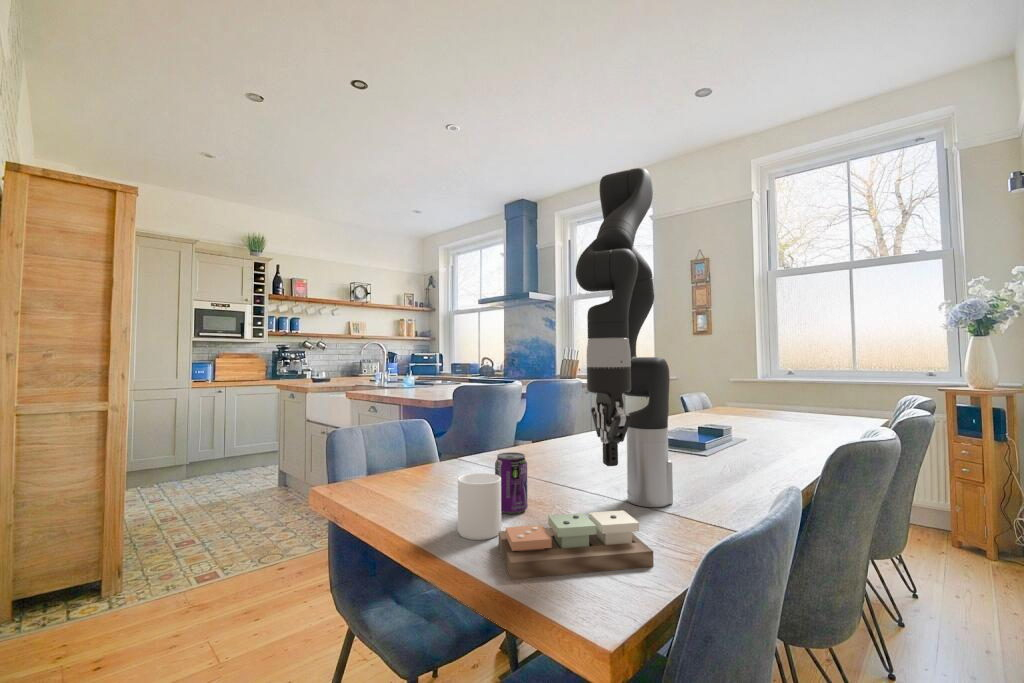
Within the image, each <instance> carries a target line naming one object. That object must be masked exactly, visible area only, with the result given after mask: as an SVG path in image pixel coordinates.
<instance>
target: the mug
mask: <svg viewBox="0 0 1024 683" xmlns="http://www.w3.org/2000/svg"><path fill="white" fill-rule="evenodd" d="M457 531H458V534H459V536H461V537H462V538H464V539H466V540H470V541H485V540H486V541H487V540H490V539H493V538H495V537H498V536H499V531H502V512H501V477H500V476H498V475H495V473H486V472H479V473H475V472H474V473H469V474H468V473H467V474H463V475H460V476H459V477H458V478H457Z"/></svg>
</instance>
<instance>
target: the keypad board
mask: <svg viewBox="0 0 1024 683" xmlns="http://www.w3.org/2000/svg"><path fill="white" fill-rule="evenodd" d="M544 529H545V530H546V532H547V533H548V534H549V536H550V537H551V539H552V548H545V550H536V551H523V552H514V551H512V549H511V547H510V544H509V542H508V540H507V537H506V530H503V531H502V530H501V531H499V534H498V547H499V550H500V553H501V555H502V558H503V561H504V564H505V567H506V569H507V572H508V576H509V578H510V579H511V580H513V579H525V578H537V577H550V576H559V575H560V576H561V575H569V574H570V575H572V574H583V573H593V572H594V573H595V572H605V571H606V572H607V571H616V570H619V571H620V570H630V569H641V568H651V567H654V566H655V565H654V550H653V549H652V548H650V547H649V546H648V545H647V544H646V543H644V542H643V541H642V539H640V538H639V537H638V536H636V534H634V532H632V543H626V544H613V545H604V544H603V543H602V542H601V541H600V540H599V539H598V538H597V537H596V534H594V535H589V546H587V547H574V548H560V546H559V545H558V543H557V542H556V541H555V532H554V531H553V529H552V528H551V527H544Z"/></svg>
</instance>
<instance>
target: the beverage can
mask: <svg viewBox="0 0 1024 683" xmlns="http://www.w3.org/2000/svg"><path fill="white" fill-rule="evenodd" d="M496 457H497V458H496V461H495V463H494V474H495V475H498V476H500V477H501V514H507V515H515V514H516V515H517V514H520V513H521V512H523V511H525V510H527V509H528V505H529V504H528V500H529V499H528V462H527V460H526V454H525V453H522V452H516V451H513V452H512V451H510V452H502V453H498V454H496Z"/></svg>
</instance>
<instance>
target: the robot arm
mask: <svg viewBox="0 0 1024 683" xmlns="http://www.w3.org/2000/svg"><path fill="white" fill-rule="evenodd" d="M653 192H654V191H653V182H652V178H651V175H650V173H649V171H648V170H647V169H646V168H643V167H635V168H630V169H626V170H622V171H617V172H612V173H609V174H605V175H603V176H602V177H601V179H600V181H599V199H600V205H601V206H600V207H601V211H602V218H603V221H602V223H601V225H600V227H599V228H598V233H597V235H596V238H595V239H594V240H593V241H592V242H591V243H590V244H589V245H588V246H587V247H586V248H585V249H584V250H583V251H582V253H581V254H580V256H579V257H578V260H577V263H576V265H575V278H576V281H577V283H578V285H579V287H580V288H582V290H584V291H586V292H594V293H595V292H606V291H607V292H609V291H611V296H612V298H611V299H609V300H608V301H605V302H602V303H599V304H595V305H592V306H591V307H590V308H588V310H587V316H586V317H587V318H586V319H587V320H586V321H587V345H586V346H587V347H586V389H587V391H588V392H589V393H592V394H596V396H595V397H596V398H595V403H594V407H591V408H590V409H591V410H590V412H591V416H592V420H593V423H594V428H595V433H596V436H597V437H598V438H600V442H601V443H602V463H603V464H604V465H606V466H607V467H616V466H618V464H619V444H620V443H624V440H625V438H626V469H627V470H626V471H627V472H626V474H627V475H626V476H627V478H626V479H627V485H626V487H627V490H626V493H627V502H629V503H630V504H632V505H636V506H639V507H645V508H646V507H647V508H661V507H662V508H663V507H666V506H668V505H673V504H674V491H673V490H674V486H673V484H674V483H673V481H674V480H673V462H672V461H671V460H670V459H669V420H668V419H669V412H670V411H669V410H670V405H669V404H670V403H669V402H670V401H669V399H670V369H669V365H668V362H667V360H666V359H664V357H658V356H657V357H653V356H651V357H650V356H648V357H647V356H641V357H640V356H639V357H637V356H638V355H637V341H638V337H639V334H640V331H641V329H642V327H643V325H644V324H645V321H646V320H647V317H648V315H649V314H650V312H651V309H652V308H653V305H654V301H655V289H654V280H653V271H652V268H651V267H650V265H649V264H648V262H647V261H646V260H645V258H644V257H643V256H642V254H641V253H640V252H639V251H638V249H637V248H636V247H635V246H634V243H635V240H636V239H635V238H636V234H637V231H638V229H639V227H640V226H641V224H642V222H643V220H644V219H645V217H646V215H647V213H648V211H649V209H650V207H651V205H652V201H653V194H654V193H653ZM623 394H624V395H625V396H627V397H638V398H639V397H642V398H643V397H644V398H648V402H647V404H646V406H644V407H643V408H641V409H639V410H634V411H631V412H629V413H628V414H625V404H624V397H623Z"/></svg>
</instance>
